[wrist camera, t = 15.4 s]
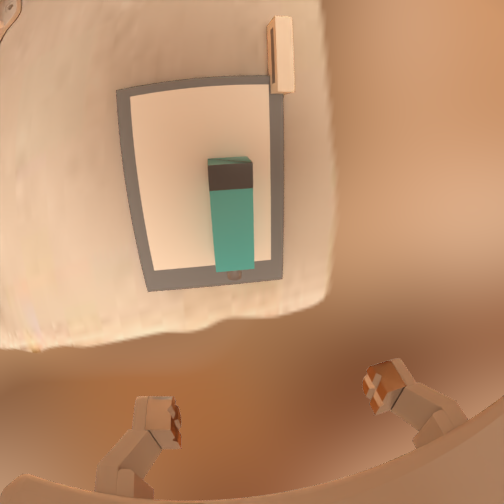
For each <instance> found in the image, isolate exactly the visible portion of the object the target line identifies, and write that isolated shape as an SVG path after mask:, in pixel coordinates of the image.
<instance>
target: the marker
mask: <svg viewBox="0 0 504 504" xmlns="http://www.w3.org/2000/svg"><path fill="white" fill-rule="evenodd" d="M208 180H209V192H210V206H211V219H212V232H213V243H214V255H215V266H216V272H226V271H227V277H228V279H229V280H232V281H236V280H239V279H241V277H242V273H241V270H248V269H255V267H254V213H253V162H252V161H251V160H250V159H249V158H248V157H247V156H244V157H226V158H211V159H208Z"/></svg>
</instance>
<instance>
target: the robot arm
mask: <svg viewBox="0 0 504 504" xmlns="http://www.w3.org/2000/svg"><path fill="white" fill-rule="evenodd" d="M20 11H21V0H0V41H1V39H2V37H3V35H4V33H5V32H6V30H7V29H8V28H9V27H10V26H11V24H12V23H13V22H14V21H15V20H16V18H17V17H18V15H19V13H20ZM366 372H367V375H366V376H365V377H364V379H363V382H362V388H363V392H364V394H365V396H366V397H367V398H369V399H370V406H371V408H372V411H373V412H374V414H375V415H378V414H381V413H384V412H387V411H390V410H391V412H393V413H394V414H396V415H397V416H399V417H400V418H401V419H403V420H404V421H405V422H407V423H408V424H410V425H411V426H412V427H414V428H415V429H417V430H418V431H419V432H418V433H417V434H416V436H415V437H414V438H413V443H414V445H415V447H416V449H415V450H413V451H411V452H409V453H407V454H404V455H402V456H400V457H398V458H395V459H393V460H390V461H388V462H386V463H383V464H380V465H378V466H376V467H373V468H370V469H368V470H364V471H362V472H359V473H356V474H353V475H349V476H346V477H344V478H340V479H337V480H333V481H330V482H326V483H322V484H318V485H314V486H310V487H305V488H301V489H297V490H292V491H287V492H281V493H275V494H269V495H263V496H255V497H247V498H237V499H226V500H225V499H224V500H206V501H205V500H203V501H174V500H154V489H153V488H152V487H151V486H149V485H148V484H147V483H146V482H145V481H144V480H143V478H144V477H145V475H146V474H147V472H148V471H149V469H150V468H151V466H152V465H153V463H154V462H155V460H156V459H157V457H158V455H159V454H160V453H161V451H162V449H181V434H180V432H179V429H180V428H181V415H180V410H179V408H178V406H177V405H176V401H175V398H174V396H159V397H158V396H156V397H155V396H138V397H137V398H136V401H135V408H134V416H133V425H132V430H128V431H127V432H126V433H125V435H123V437H122V438H121V439H120V440H119V441H118V442H117V443H116V445H115V446H114V447H113V448H112V449H111V450H110V451H109V452H108V453H107V455H106V456H105V457H104V458H103V459H102V460H101V461H100V462H99V463H98V465H97V472H96V482H95V490H94V492H93V491H88V490H84V489H79V488H75V487H71V486H67V485H63V484H59V483H56V482H52V481H49V480H46V479H43V478H40V477H37V476H34V475H31V474H22V475H20V476H18V477H17V478H16V479H15V480H14V481H12V482H11V483H10V484H9V485H8V486H6V487H5V488H4V489H3V491H2V493H1V496H0V504H504V396H502V397H501V398H500V399H498V400H497V401H496V402H494V403H493V404H491V405H490V406H489V407H487V408H486V409H484V410H483V411H481V412H480V413H479V414H477V415H475V416H474V417H472V418H471V419H469V420H468V418H467V417H466V415H465V414H464V412H463V411H462V409H461V408H460V406H459V404H458V403H457V401H455V400H453V399H451V398H449V397H447V396H445V395H443V394H441V393H439V392H437V391H435V390H434V389H432V388H430V387H428V386H426V385H424V384H422V383H420V382H417V383H416V381H415V380H414V378H413V377H412V375H411V374H410V372H409V371H408V369H407V368H406V366H405V365H404V363H403V362H402V361H401V359H400V358H396V359H392V360H389V361H385V362H382V363H378V364H375V365H372V366H369V367H368V368H367V371H366Z"/></svg>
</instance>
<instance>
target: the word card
mask: <svg viewBox="0 0 504 504" xmlns="http://www.w3.org/2000/svg"><path fill="white" fill-rule="evenodd" d="M267 47H268V76H270V90H271V94H288V93H293V92H295V83H294V52H293V30H292V17H287V16H274V18H273V19H272V20H271V22H270V23H269V24H268V26H267Z"/></svg>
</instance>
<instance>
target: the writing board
mask: <svg viewBox="0 0 504 504" xmlns="http://www.w3.org/2000/svg"><path fill="white" fill-rule="evenodd" d="M116 96H117V112H118V124H119V135H120V145H121V153H122V161H123V169H124V176H125V183H126V190H127V196H128V202H129V208H130V213H131V219H132V224H133V229H134V234H135V239H136V244H137V248H138V253H139V257H140V262H141V266H142V270H143V275H144V279H145V283H146V287H147V290H148V292H151V291H164V290H176V289H188V288H199V287H210V286H221V285H231V284H241V283H251V282H260V281H270V280H279V279H282V274H283V228H284V115H283V94H271V90H270V76H262V75H254V76H221V77H206V78H194V79H184V80H175V81H168V82H160V83H154V84H148V85H142V86H136V87H131V88H126V89H121V90H116ZM244 156H247V157H248V158H249V159H250V160H251V161H252V162H253V213H254V267H255V269H248V270H241V273H242V277H241V279H239V280H236V281H232V280H229V279H228V277H227V271H226V272H216V266H215V255H214V243H213V232H212V219H211V206H210V192H209V180H208V159H211V158H226V157H244Z"/></svg>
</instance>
